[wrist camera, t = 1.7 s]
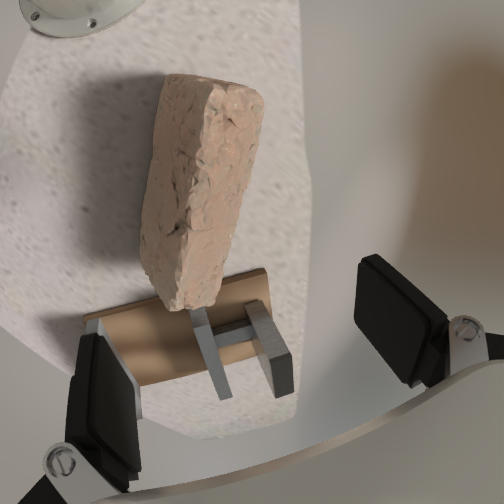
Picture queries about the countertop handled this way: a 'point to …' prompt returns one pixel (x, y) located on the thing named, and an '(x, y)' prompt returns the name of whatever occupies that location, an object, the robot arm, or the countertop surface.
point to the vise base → (175, 332)
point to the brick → (196, 185)
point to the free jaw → (262, 339)
